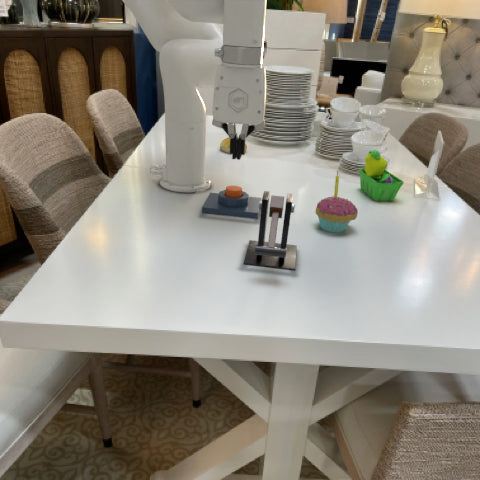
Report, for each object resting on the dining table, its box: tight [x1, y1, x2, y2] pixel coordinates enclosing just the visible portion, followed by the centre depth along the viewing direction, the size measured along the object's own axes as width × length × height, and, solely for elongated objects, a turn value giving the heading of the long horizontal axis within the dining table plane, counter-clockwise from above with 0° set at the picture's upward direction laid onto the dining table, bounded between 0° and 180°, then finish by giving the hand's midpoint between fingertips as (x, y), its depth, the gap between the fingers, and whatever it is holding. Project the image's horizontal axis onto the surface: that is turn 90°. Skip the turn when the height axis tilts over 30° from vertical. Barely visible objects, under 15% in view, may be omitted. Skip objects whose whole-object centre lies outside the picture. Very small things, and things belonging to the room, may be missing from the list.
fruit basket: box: [358, 149, 405, 202], centre depth 119 cm, size 11×9×11 cm
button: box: [225, 185, 243, 198], centre depth 102 cm, size 4×4×2 cm
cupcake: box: [315, 171, 359, 233], centre depth 96 cm, size 9×8×12 cm
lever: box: [255, 195, 287, 258], centre depth 78 cm, size 12×5×2 cm, turn 173°
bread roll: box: [219, 136, 248, 154], centre depth 149 cm, size 8×9×4 cm
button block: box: [201, 189, 263, 220], centre depth 104 cm, size 12×10×4 cm
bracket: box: [243, 190, 298, 271], centre depth 83 cm, size 10×9×12 cm
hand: (236, 157), depth 98 cm, fingers closed
